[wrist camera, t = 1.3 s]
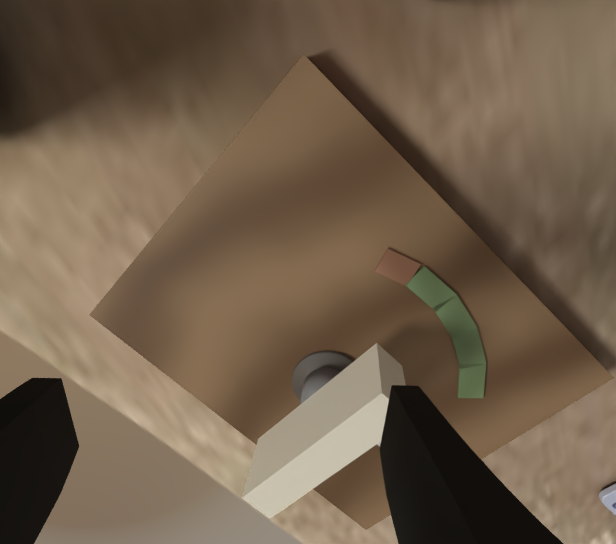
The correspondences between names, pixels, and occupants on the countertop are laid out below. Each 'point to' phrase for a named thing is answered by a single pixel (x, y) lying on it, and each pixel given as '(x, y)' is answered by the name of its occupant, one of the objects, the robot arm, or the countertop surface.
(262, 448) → the tuning key
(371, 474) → the brown dial board
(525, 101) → the countertop surface
